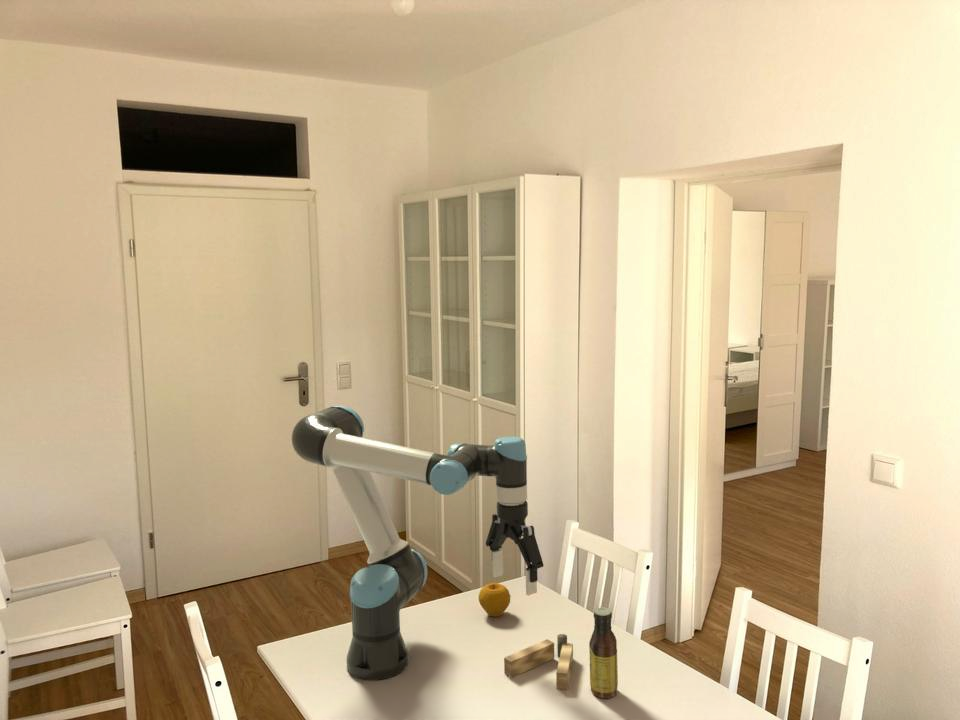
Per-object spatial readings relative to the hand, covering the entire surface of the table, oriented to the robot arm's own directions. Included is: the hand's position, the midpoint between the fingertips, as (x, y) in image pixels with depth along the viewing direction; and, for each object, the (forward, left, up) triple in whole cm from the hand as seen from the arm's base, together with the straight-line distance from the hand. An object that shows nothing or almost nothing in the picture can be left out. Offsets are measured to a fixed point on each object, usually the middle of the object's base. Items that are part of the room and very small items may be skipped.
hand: (514, 584), depth 191 cm
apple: (-24, +5, -19) cm, 31 cm away
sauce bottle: (+23, +11, -19) cm, 32 cm away
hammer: (+11, +7, -19) cm, 23 cm away
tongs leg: (+5, +1, -19) cm, 20 cm away
